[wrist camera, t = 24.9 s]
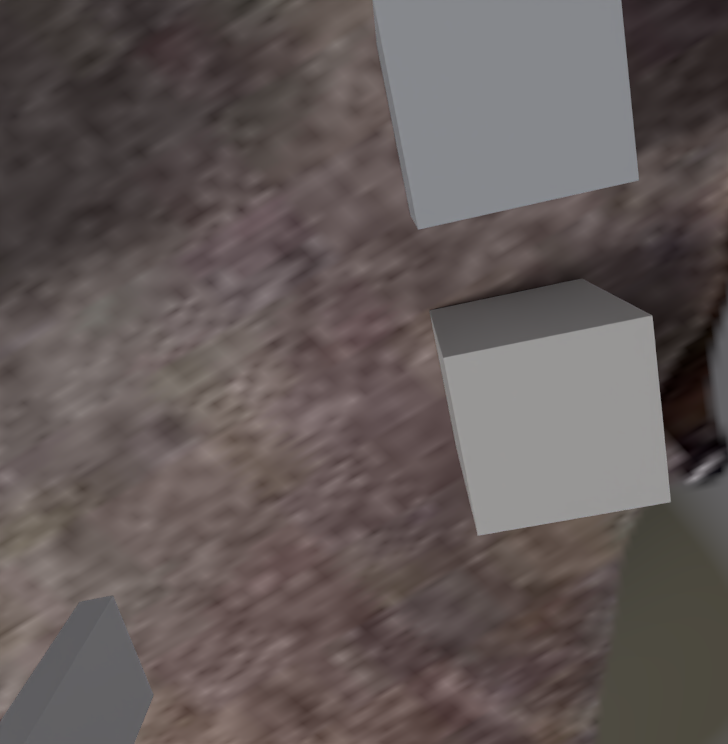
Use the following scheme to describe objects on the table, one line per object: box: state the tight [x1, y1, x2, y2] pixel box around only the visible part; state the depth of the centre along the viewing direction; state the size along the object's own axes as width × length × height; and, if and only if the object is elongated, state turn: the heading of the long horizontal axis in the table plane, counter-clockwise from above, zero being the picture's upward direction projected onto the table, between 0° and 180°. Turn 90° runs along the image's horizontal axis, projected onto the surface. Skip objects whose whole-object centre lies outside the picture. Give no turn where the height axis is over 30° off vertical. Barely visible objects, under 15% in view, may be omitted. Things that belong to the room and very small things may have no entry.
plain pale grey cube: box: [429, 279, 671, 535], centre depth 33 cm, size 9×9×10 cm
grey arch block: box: [372, 0, 639, 230], centre depth 29 cm, size 9×9×10 cm
